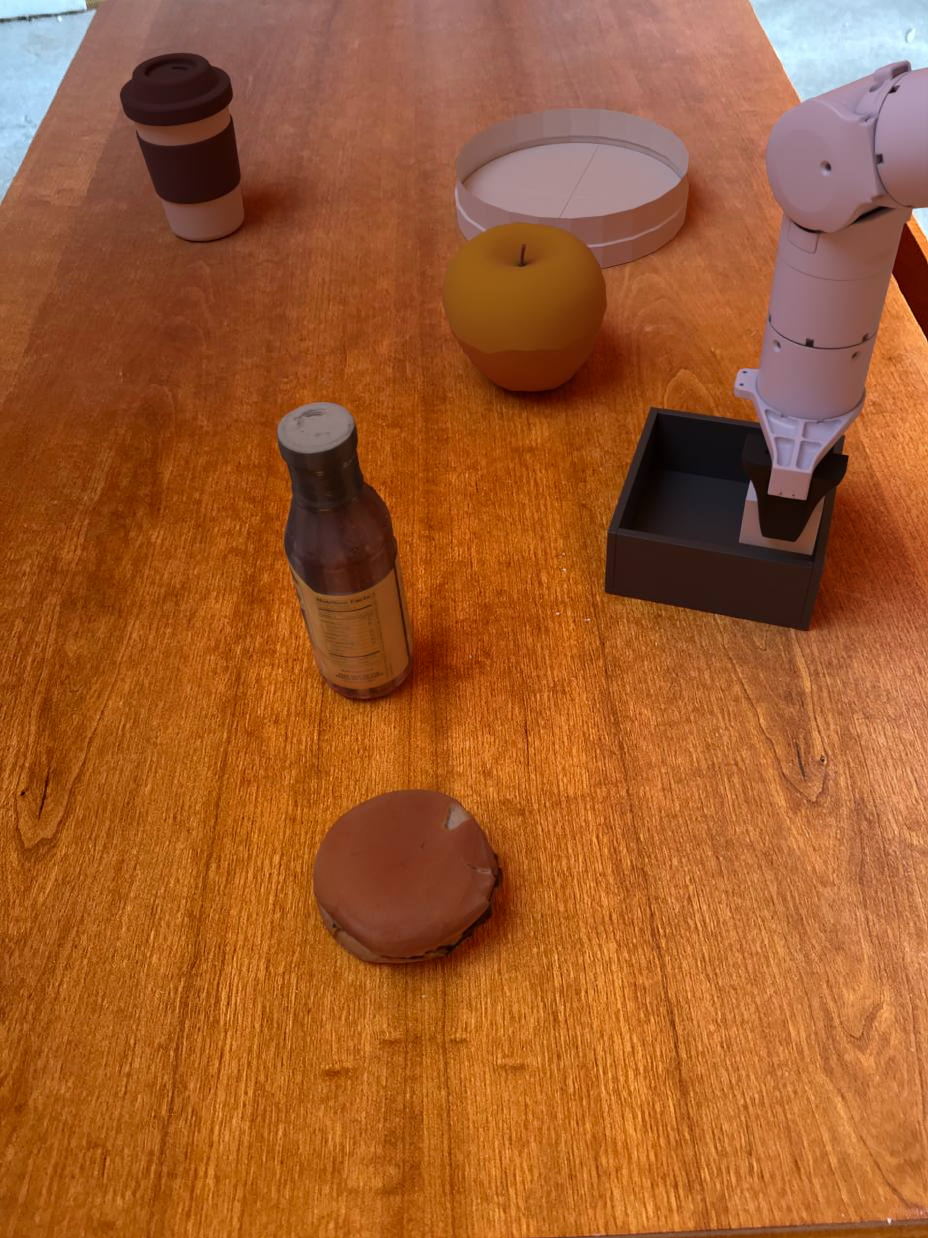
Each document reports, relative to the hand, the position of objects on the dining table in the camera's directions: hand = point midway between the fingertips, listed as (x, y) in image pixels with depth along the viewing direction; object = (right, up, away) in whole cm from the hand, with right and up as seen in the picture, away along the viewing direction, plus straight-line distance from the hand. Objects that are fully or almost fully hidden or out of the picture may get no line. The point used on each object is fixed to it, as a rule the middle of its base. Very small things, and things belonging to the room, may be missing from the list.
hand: (784, 510), depth 70 cm
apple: (-15, +13, +23) cm, 30 cm away
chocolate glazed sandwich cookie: (-23, -22, -8) cm, 32 cm away
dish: (-9, +33, +40) cm, 52 cm away
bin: (-2, -1, +8) cm, 8 cm away
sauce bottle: (-26, -10, +3) cm, 28 cm away
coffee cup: (-45, +32, +42) cm, 69 cm away
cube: (0, -1, +1) cm, 1 cm away
